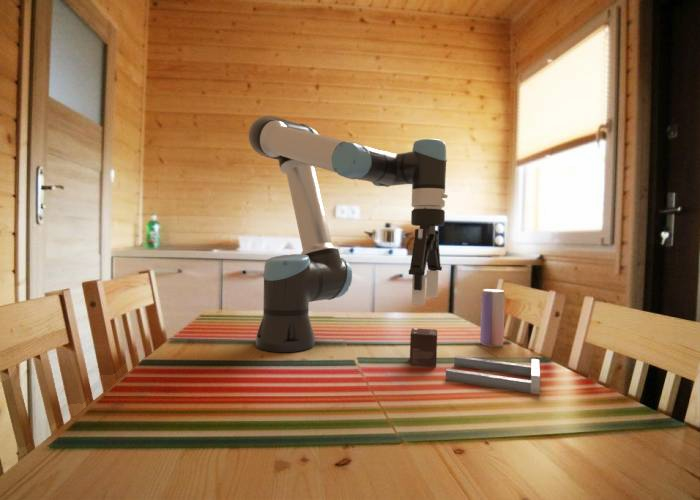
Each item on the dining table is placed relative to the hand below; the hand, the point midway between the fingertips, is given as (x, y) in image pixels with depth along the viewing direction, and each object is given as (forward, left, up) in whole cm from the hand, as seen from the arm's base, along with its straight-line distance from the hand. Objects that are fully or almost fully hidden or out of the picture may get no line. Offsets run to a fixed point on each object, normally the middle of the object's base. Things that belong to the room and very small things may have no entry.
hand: (425, 301), depth 98 cm
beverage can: (+13, +25, -14) cm, 32 cm away
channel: (+15, -4, -14) cm, 21 cm away
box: (0, 0, -15) cm, 15 cm away
